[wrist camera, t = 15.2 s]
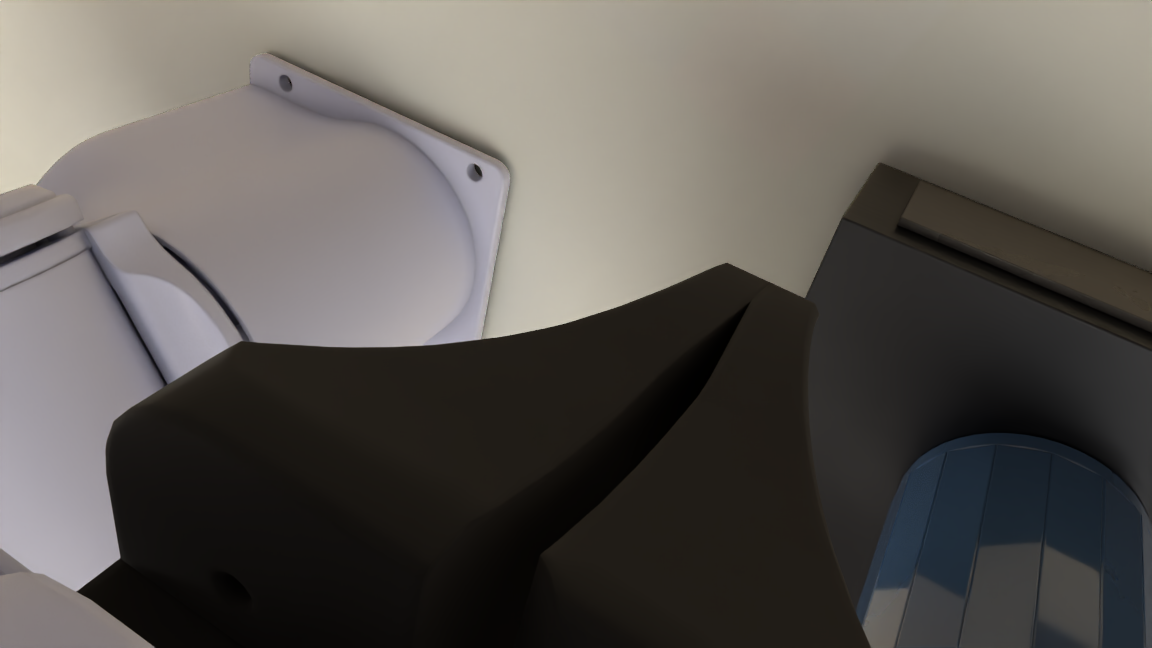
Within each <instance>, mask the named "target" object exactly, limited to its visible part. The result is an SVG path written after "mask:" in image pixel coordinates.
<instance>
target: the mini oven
mask: <svg viewBox="0 0 1152 648" xmlns="http://www.w3.org/2000/svg"><path fill="white" fill-rule="evenodd" d="M805 299H807V300H809V301H811V302H813V303H815V304H816V307H817V309H818V312H819V317H818V319H817V321H816V324H815V327H814V330H813V334H812V340H811V347H810V356H809V371H808V407H809V424H810V434H811V444H812V453H813V460H814V467H815V473H816V479H817V484H818V489H819V494H820V498H821V503H822V508H823V512H824V516H825V519H826V523H827V527H828V531H829V535H830V538H831V542H832V545H833V549H834V552H835V555H836V557H837V560H838V563H839V566H840V569H841V572H842V574H843V577H844V580H845V583H846V586H847V588H848V591H849V594H850V597H851V600H852V603H853V605H854V608H855V611H856V609H857V606H858V603H859V599H860V596H861V593H862V590H863V587H864V584H865V581H866V578H867V575H868V572H869V569H870V566H871V563H872V559H873V556H874V553H875V550H876V547H877V544H878V541H879V538H880V535H881V532H882V529H883V526H884V523H885V520H886V516H887V513H888V510H889V507H890V504H891V501H892V500H893V498H894V497H895V495H896V493H897V490H898V486H899V484H900V482H901V480H902V478H903V476H904V474H905V473H906V472H907V471H908V469H909V468H910V467H911V465H912V464H913V463H915V462H916V461H917V460H918V459H919V458H920V457H921V456H923V455H924V454H925V453H927V452H928V451H930V450H931V449H933V448H935V447H937V446H939V445H941V444H943V443H945V442H948V441H951V440H954V439H957V438H960V437H965V436H970V435H974V434H983V433H1016V434H1026V435H1031V436H1036V437H1041V438H1046V439H1049V440H1052V441H1055V442H1059V443H1062V444H1064V445H1067V446H1069V447H1072V448H1074V449H1077V450H1079V451H1081V452H1083V453H1085V454H1086V455H1088V456H1090V457H1092V458H1094V459H1096V460H1097V461H1099V462H1100V463H1101V464H1103V465H1104V466H1106V467H1107V468H1109V469H1110V470H1111V471H1112V472H1114V473H1115V474H1116V475H1117V476H1118V477H1119V478H1121V479H1122V480H1123V481H1124V482H1125V483H1126V485H1127V486H1128V487H1129V488H1130V489H1131V490H1132V491H1133V492H1134V494H1135V495H1136V496H1137V498H1138V499H1139V501H1140V502H1141V504H1142V505H1143V507H1144V509H1145V511H1146V513H1147V515H1148V517H1149V520H1150V524H1151V527H1152V273H1151V272H1148V271H1146V270H1143V269H1141V268H1139V267H1136V266H1134V265H1131V264H1129V263H1126V262H1124V261H1121V260H1119V259H1116V258H1114V257H1111V256H1109V255H1106V254H1104V253H1102V252H1099V251H1097V250H1094V249H1092V248H1089V247H1087V246H1084V245H1082V244H1079V243H1077V242H1074V241H1072V240H1070V239H1067V238H1065V237H1062V236H1060V235H1057V234H1055V233H1052V232H1050V231H1047V230H1045V229H1042V228H1040V227H1038V226H1035V225H1033V224H1030V223H1028V222H1025V221H1023V220H1020V219H1018V218H1015V217H1013V216H1010V215H1008V214H1005V213H1003V212H1001V211H998V210H996V209H993V208H991V207H988V206H986V205H983V204H981V203H978V202H976V201H973V200H971V199H969V198H966V197H964V196H961V195H959V194H956V193H954V192H951V191H949V190H946V189H944V188H941V187H939V186H937V185H934V184H932V183H929V182H927V181H924V180H922V179H919V178H917V177H914V176H912V175H909V174H907V173H904V172H902V171H900V170H897V169H895V168H892V167H890V166H887V165H885V164H882V163H878V164H877V166H876V167H875V169H874V170H873V172H872V173H871V175H870V176H869V178H868V179H867V181H866V182H865V184H864V185H863V187H862V188H861V190H860V191H859V193H858V194H857V196H856V197H855V199H854V200H853V202H852V203H851V205H850V206H849V208H848V209H847V211H846V212H845V214H844V215H843V217H842V218H841V221H840V223H839V225H838V227H837V229H836V232H835V234H834V236H833V238H832V240H831V243H830V245H829V247H828V249H827V251H826V253H825V256H824V258H823V260H822V262H821V264H820V267H819V269H818V271H817V273H816V275H815V277H814V280H813V282H812V284H811V286H810V288H809V291H808V293H807V295H806V297H805Z"/></svg>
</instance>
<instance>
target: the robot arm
mask: <svg viewBox="0 0 1152 648" xmlns="http://www.w3.org/2000/svg"><path fill="white" fill-rule="evenodd" d="M288 77H289V79H290V80H291V82H292V86H291V84H290V82H289V79H288ZM474 164H476V165H477V166H479V167H480V169H481V171H482V176H480V175H479V174H477V172H476V170H475V166H474ZM509 186H510V174H509V171H508V169H507V167H506V166H505V165H504V163H502V162H501V161H499V160H498V159H495V158H493V157H491V156H489V155H487V154H485V153H482V152H480V151H478V150H476V149H474V148H472V147H469V146H467V145H465V144H463V143H461V142H459V141H457V140H454V139H452V138H450V137H448V136H446V135H444V134H441V133H439V132H437V131H435V130H433V129H431V128H428V127H426V126H424V125H422V124H420V123H418V122H416V121H413V120H411V119H409V118H407V117H405V116H403V115H400V114H398V113H396V112H394V111H392V110H390V109H387V108H385V107H383V106H381V105H379V104H377V103H374V102H372V101H370V100H368V99H366V98H364V97H362V96H359V95H357V94H355V93H353V92H351V91H349V90H346V89H344V88H342V87H340V86H338V85H336V84H333V83H331V82H329V81H327V80H325V79H323V78H320V77H318V76H316V75H314V74H312V73H310V72H308V71H305V70H303V69H301V68H299V67H297V66H295V65H292V64H290V63H288V62H286V61H284V60H282V59H279V58H277V57H275V56H273V55H271V54H268V53H262V54H258V55H255V56H253V57H252V59H251V61H250V84H249V85H246V86H243V87H240V88H237V89H234V90H231V91H227V92H224V93H221V94H218V95H215V96H212V97H209V98H206V99H203V100H200V101H197V102H194V103H191V104H188V105H185V106H182V107H179V108H176V109H173V110H169V111H166V112H163V113H160V114H157V115H154V116H151V117H148V118H145V119H142V120H139V121H136V122H133V123H130V124H127V125H124V126H121V127H118V128H115V129H111V130H108V131H105V132H102V133H100V134H98V135H95V136H93V137H91V138H89V139H86V140H85V141H83V142H81V143H80V144H78V145H77V146H75V147H73V148H72V149H71V150H70V151H68V152H67V153H66V154H65V155H63V156H62V157H61V158H60V159H59V160H58V161H57V162H56V163H55V164H54V165H53V166H52V167H51V168H50V169H49V170H48V171H47V172H46V173H45V175H44V176H43V177H42V178H41V179H40V181H39V182H38V184H37V185H33V184H30V185H27V186H24V187H21V188H18V189H15V190H12V191H9V192H6V193H3V194H0V648H871V646H870V644H869V642H868V639H867V637H866V635H865V632H864V630H863V628H862V626H861V623H860V621H859V619H858V616H857V614H856V611H855V608H854V605H853V603H852V600H851V597H850V594H849V591H848V588H847V586H846V583H845V580H844V577H843V574H842V572H841V569H840V566H839V563H838V560H837V557H836V555H835V552H834V549H833V545H832V542H831V538H830V535H829V531H828V527H827V523H826V519H825V516H824V512H823V508H822V503H821V498H820V494H819V489H818V484H817V479H816V473H815V467H814V460H813V453H812V444H811V434H810V424H809V407H808V371H809V356H810V347H811V340H812V334H813V330H814V327H815V324H816V321H817V319H818V317H819V312H818V309H817V307H816V304H815V303H813V302H811V301H809V300H807V299H804V298H802V297H800V296H798V295H796V294H794V293H792V292H789V291H787V290H785V289H783V288H781V287H779V286H776V285H774V284H772V283H770V282H768V281H766V280H763V279H761V278H759V277H757V276H755V275H753V274H750V273H748V272H746V271H744V270H742V269H740V268H737V267H735V266H733V265H731V264H729V263H725V264H722V265H719V266H716V267H714V268H711V269H709V270H707V271H704V272H702V273H700V274H698V275H696V276H693V277H691V278H689V279H687V280H684V281H682V282H680V283H677V284H675V285H673V286H670V287H668V288H666V289H663V290H661V291H658V292H656V293H653V294H651V295H648V296H645V297H643V298H640V299H638V300H635V301H633V302H630V303H627V304H625V305H622V306H619V307H616V308H614V309H611V310H607V311H604V312H601V313H598V314H595V315H592V316H588V317H585V318H582V319H579V320H576V321H573V322H569V323H566V324H562V325H558V326H554V327H549V328H545V329H540V330H535V331H530V332H525V333H520V334H515V335H510V336H504V337H498V338H489V339H481V338H482V333H483V327H484V322H485V316H486V311H487V305H488V300H489V295H490V289H491V284H492V278H493V273H494V267H495V262H496V257H497V251H498V246H499V240H500V235H501V230H502V224H503V219H504V213H505V208H506V202H507V197H508V192H509Z"/></svg>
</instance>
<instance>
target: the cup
mask: <svg viewBox="0 0 1152 648" xmlns="http://www.w3.org/2000/svg"><path fill="white" fill-rule="evenodd" d="M856 614H857V616H858V619H859V621H860V623H861V626H862V628H863V630H864V632H865V635H866V637H867V639H868V642H869V644H870V646H871V648H1152V527H1151V524H1150V520H1149V517H1148V515H1147V513H1146V511H1145V509H1144V507H1143V505H1142V504H1141V502H1140V501H1139V499H1138V498H1137V496H1136V495H1135V494H1134V492H1133V491H1132V490H1131V489H1130V488H1129V487H1128V486H1127V485H1126V483H1125V482H1124V481H1123V480H1122V479H1121V478H1119V477H1118V476H1117V475H1116V474H1115V473H1114V472H1112V471H1111V470H1110V469H1109V468H1107V467H1106V466H1104V465H1103V464H1101V463H1100V462H1099V461H1097V460H1096V459H1094V458H1092V457H1090V456H1088V455H1086V454H1085V453H1083V452H1081V451H1079V450H1077V449H1074V448H1072V447H1069V446H1067V445H1064V444H1062V443H1059V442H1055V441H1052V440H1049V439H1046V438H1041V437H1036V436H1031V435H1026V434H1016V433H983V434H974V435H970V436H965V437H960V438H957V439H954V440H951V441H948V442H945V443H943V444H941V445H939V446H937V447H935V448H933V449H931V450H930V451H928V452H927V453H925V454H924V455H923V456H921V457H920V458H919V459H918V460H917V461H916V462H915V463H913V464H912V465H911V467H910V468H909V469H908V471H907V472H906V473H905V474H904V476H903V478H902V480H901V482H900V484H899V486H898V490H897V493H896V495H895V497H894V498H893V500H892V501H891V504H890V507H889V510H888V513H887V516H886V520H885V523H884V526H883V529H882V532H881V535H880V538H879V541H878V544H877V547H876V550H875V553H874V556H873V559H872V563H871V566H870V569H869V572H868V575H867V578H866V581H865V584H864V587H863V590H862V593H861V596H860V599H859V603H858V606H857V609H856Z"/></svg>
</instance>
